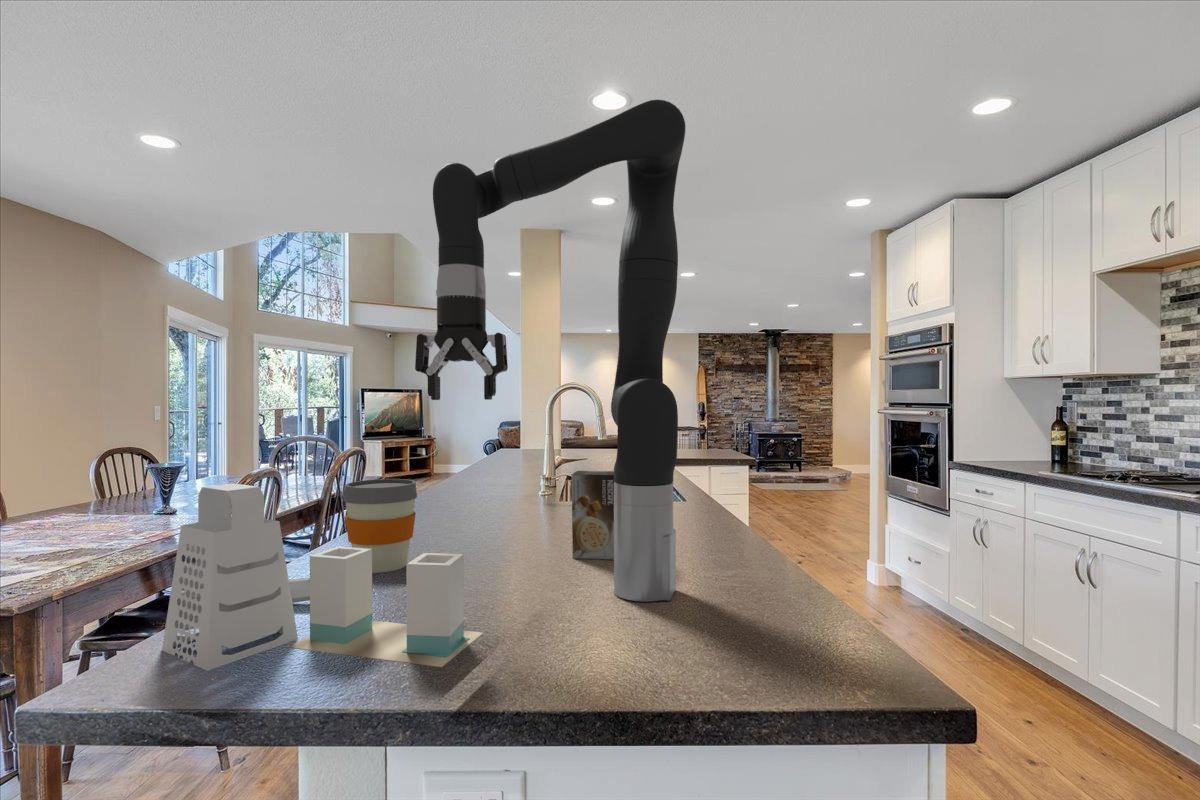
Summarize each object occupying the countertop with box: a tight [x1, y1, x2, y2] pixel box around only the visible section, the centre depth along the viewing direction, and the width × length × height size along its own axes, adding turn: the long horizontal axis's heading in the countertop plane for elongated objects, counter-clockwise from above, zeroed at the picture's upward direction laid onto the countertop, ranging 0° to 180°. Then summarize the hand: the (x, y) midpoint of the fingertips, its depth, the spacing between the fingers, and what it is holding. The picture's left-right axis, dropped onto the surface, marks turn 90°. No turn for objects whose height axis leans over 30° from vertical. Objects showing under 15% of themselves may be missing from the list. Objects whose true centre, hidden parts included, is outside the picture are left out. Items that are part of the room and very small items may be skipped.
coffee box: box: [571, 470, 614, 560], centre depth 119 cm, size 9×6×16 cm
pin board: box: [287, 620, 484, 668], centre depth 74 cm, size 20×10×6 cm, turn 75°
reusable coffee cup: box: [343, 478, 418, 574], centre depth 112 cm, size 13×13×15 cm
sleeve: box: [405, 552, 465, 654], centre depth 72 cm, size 5×5×10 cm
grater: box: [161, 482, 299, 672], centre depth 73 cm, size 10×10×20 cm
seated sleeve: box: [309, 546, 373, 644], centre depth 76 cm, size 5×5×10 cm
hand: (461, 399), depth 98 cm, fingers open, 8 cm apart
